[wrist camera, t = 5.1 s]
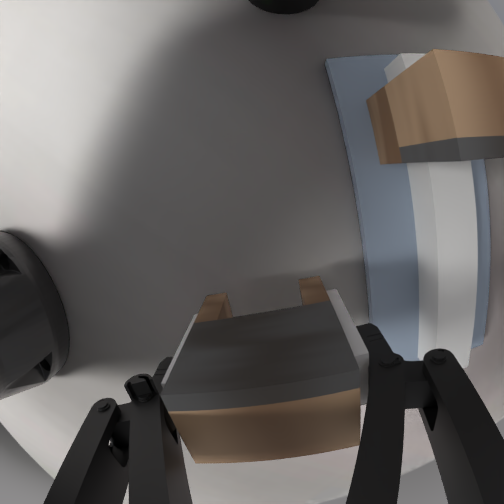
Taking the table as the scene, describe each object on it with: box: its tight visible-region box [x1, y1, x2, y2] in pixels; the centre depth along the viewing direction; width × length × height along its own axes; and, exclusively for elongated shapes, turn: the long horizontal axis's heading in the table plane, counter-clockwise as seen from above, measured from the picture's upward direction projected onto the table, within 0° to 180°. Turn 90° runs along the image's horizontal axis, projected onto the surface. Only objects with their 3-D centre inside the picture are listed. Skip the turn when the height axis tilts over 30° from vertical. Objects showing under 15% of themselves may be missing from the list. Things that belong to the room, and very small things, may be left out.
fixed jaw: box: [366, 49, 504, 165], centre depth 12 cm, size 7×4×9 cm, turn 102°
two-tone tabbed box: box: [160, 276, 360, 463], centre depth 14 cm, size 7×4×9 cm, turn 102°
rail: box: [325, 53, 490, 369], centre depth 16 cm, size 10×22×4 cm, turn 12°
